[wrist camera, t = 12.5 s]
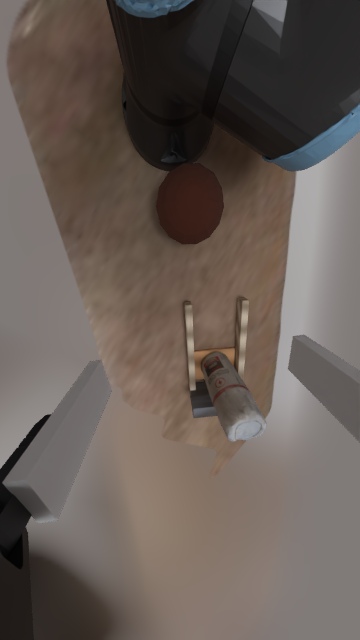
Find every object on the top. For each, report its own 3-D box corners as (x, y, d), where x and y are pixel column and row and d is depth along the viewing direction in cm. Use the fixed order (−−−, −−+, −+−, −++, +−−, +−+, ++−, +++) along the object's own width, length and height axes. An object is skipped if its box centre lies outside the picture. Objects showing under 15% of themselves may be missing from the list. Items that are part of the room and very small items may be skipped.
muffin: (204, 252, 38) (216, 251, 29) (154, 239, 37) (149, 233, 27) (221, 189, 34) (240, 163, 25) (165, 171, 33) (164, 138, 23)
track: (184, 302, 42) (188, 314, 33) (243, 297, 42) (262, 307, 34) (189, 391, 51) (193, 418, 43) (238, 386, 52) (251, 412, 43)
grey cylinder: (229, 347, 46) (270, 410, 27) (232, 372, 49) (271, 445, 30) (197, 354, 46) (217, 422, 27) (202, 379, 49) (223, 455, 30)
